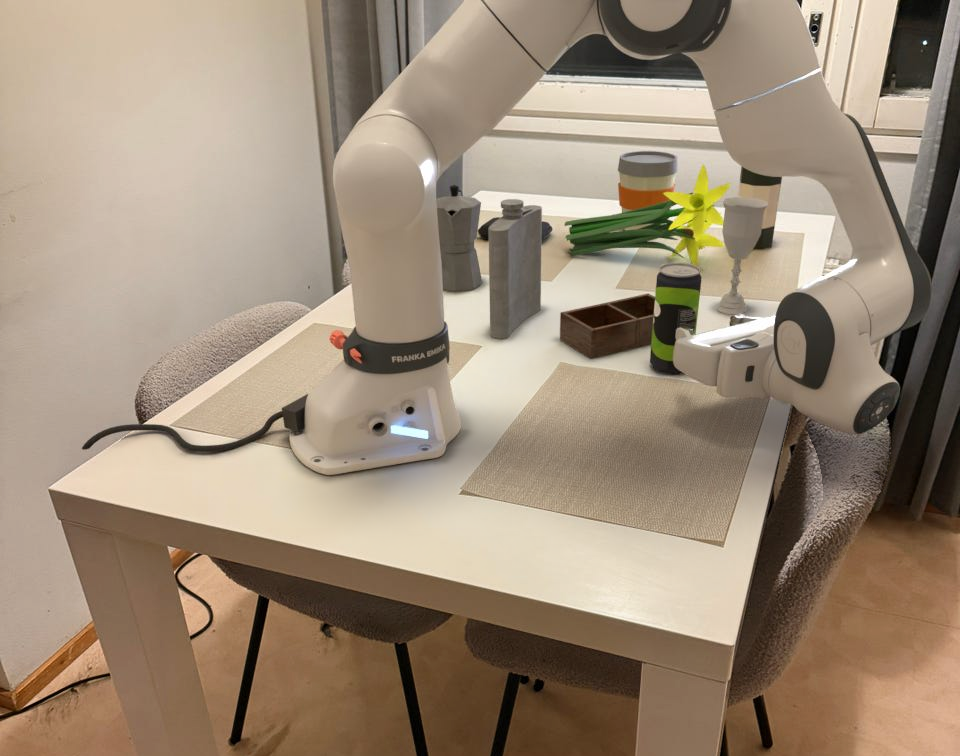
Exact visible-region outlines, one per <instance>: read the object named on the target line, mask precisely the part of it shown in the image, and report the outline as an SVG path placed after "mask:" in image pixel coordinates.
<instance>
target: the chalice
mask: <svg viewBox="0 0 960 756" xmlns="http://www.w3.org/2000/svg"><path fill="white" fill-rule="evenodd" d="M722 205H723V207H724V215H723V220H724V222H723V225H722V237H723V241H724V245H725V248H726V250H727V253H728V256H729V258H731V259H733V260H734V265H733V267H732V269H731V272H732V277H731V279H730V280H729V283H730V285H731V286H730V287H731V288H730V290H729V292H728V293H726V294H725V295H723V296H722V297H721V299H720V301H718V302H719V304H718V305H717V306H716V308H715V309H716V310H717V311H718V312H719V313H723V314H727V315H736V314H742V315H743V314H745V313H746V312H747V307H746V302H745V299H744V297H743V296H742V295H741V294H739V292H738V287H739V284H741V280H740V277H739V276H740V275H741V273H742V269H741V263H742V260H746V259H747V258H748V257H749V256H750V254H751V252H753V250H754V249H753V248H754V246H755V245H756V243H757V241H758V239H759V237H760V235H761V229H762V222H763V215H764V210H765V209H766V207H767V206H768V202H766V201H764V200H761V199H756V198H749V197H738V196H735V197H734V196H733V197H727V198H724V199H722Z"/></svg>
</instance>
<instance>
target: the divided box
mask: <svg viewBox="0 0 960 756" xmlns="http://www.w3.org/2000/svg"><path fill="white" fill-rule="evenodd" d="M654 305H655V295H653V294H651V293H645V294H644V293H643V294H639V295H635V296H630V297H625V298H621V299H617V300H612V301H607V302H603V303H598V304H593V305H588V306H584V307H579V308H575V309H570V310H565V311H562V312H560V313H559V314H560V316H559V317H560V319H559V340H560V341H561V342H563V343H564V344H565V345H568V346H569V347H571V348H572V349H574V350H576V351H577V352H579V353H581V354H582V355H584V356H585V357H587V358H588V359H590V360H591V359H595V358H600V357H604V356H607V355H612V354H616V353H619V352H624V351H625V352H626V351H628V350H632V349H637V348H641V347H645V346H648V345H651V341H652V329H653V317H654Z"/></svg>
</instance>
